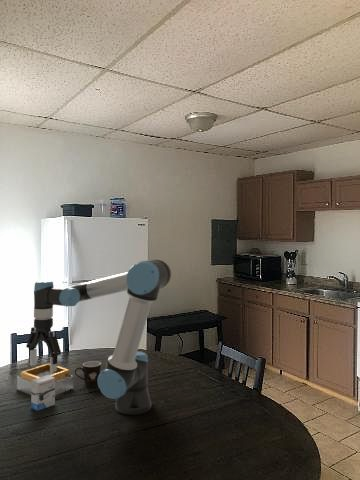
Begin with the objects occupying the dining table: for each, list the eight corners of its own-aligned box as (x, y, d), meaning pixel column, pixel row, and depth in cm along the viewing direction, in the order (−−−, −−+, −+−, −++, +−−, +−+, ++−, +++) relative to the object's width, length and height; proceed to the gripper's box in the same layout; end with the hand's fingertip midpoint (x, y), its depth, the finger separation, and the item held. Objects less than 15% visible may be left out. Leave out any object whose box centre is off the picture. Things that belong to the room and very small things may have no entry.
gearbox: (73, 388, 186) (73, 370, 186) (43, 400, 173) (43, 380, 172) (41, 377, 199) (41, 360, 199) (12, 387, 186) (12, 369, 186)
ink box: (37, 411, 162) (37, 383, 161) (30, 408, 165) (30, 380, 164) (55, 404, 168) (55, 377, 168) (48, 401, 171) (48, 374, 171)
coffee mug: (103, 381, 195) (103, 361, 195) (97, 388, 186) (98, 367, 186) (80, 380, 196) (80, 360, 196) (73, 387, 187) (74, 366, 187)
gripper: (70, 320, 162) (69, 371, 162) (33, 312, 176) (33, 360, 176) (55, 323, 156) (54, 377, 156) (18, 315, 170) (17, 364, 170)
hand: (43, 368), depth 166 cm, fingers open, 13 cm apart
